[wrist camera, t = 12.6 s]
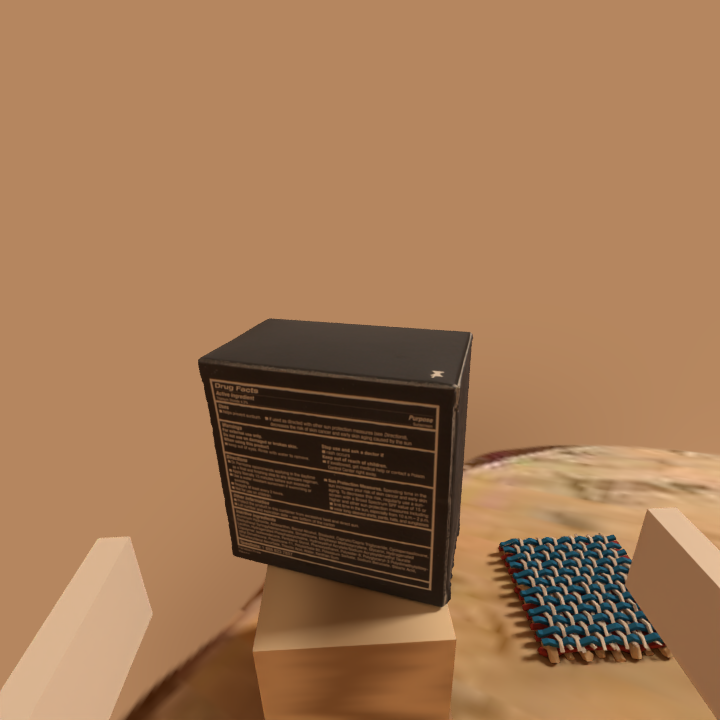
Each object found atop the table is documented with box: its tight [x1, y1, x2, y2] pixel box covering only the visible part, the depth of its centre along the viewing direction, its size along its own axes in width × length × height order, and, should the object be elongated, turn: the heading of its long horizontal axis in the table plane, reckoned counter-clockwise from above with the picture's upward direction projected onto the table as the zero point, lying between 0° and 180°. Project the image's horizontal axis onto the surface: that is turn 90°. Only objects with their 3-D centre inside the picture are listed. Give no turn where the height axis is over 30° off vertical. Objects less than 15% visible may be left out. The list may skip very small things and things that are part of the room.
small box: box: [198, 319, 473, 607], centre depth 21 cm, size 11×6×10 cm, turn 73°
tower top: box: [252, 565, 456, 720], centre depth 24 cm, size 8×12×7 cm, turn 2°
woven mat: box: [499, 533, 674, 663], centre depth 35 cm, size 10×11×2 cm
